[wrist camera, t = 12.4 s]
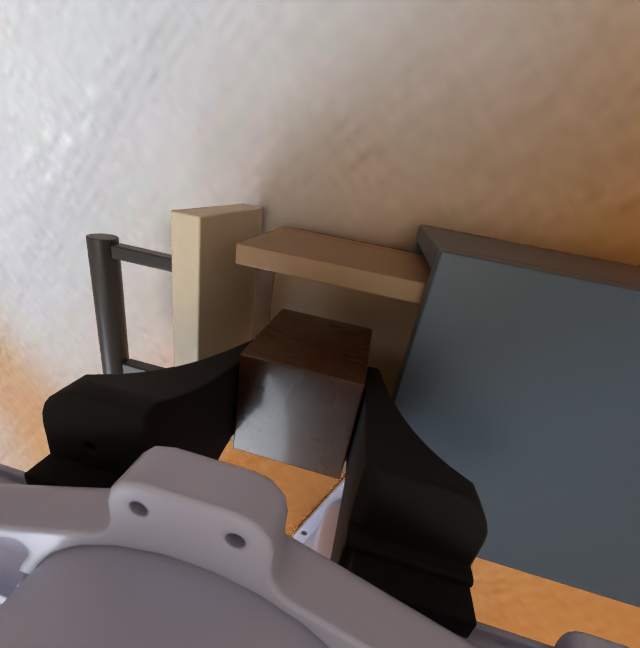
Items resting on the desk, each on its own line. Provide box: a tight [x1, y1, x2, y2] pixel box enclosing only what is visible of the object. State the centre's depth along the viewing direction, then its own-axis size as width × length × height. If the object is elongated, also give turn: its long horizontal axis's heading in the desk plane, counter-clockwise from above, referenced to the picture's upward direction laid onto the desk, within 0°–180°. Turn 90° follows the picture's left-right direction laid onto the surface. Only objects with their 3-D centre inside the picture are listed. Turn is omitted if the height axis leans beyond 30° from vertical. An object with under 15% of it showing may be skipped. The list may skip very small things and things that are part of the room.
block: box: [233, 308, 373, 479], centre depth 13 cm, size 4×4×4 cm
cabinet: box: [392, 225, 640, 607], centre depth 15 cm, size 13×12×8 cm
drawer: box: [86, 204, 431, 474], centre depth 16 cm, size 16×11×6 cm
